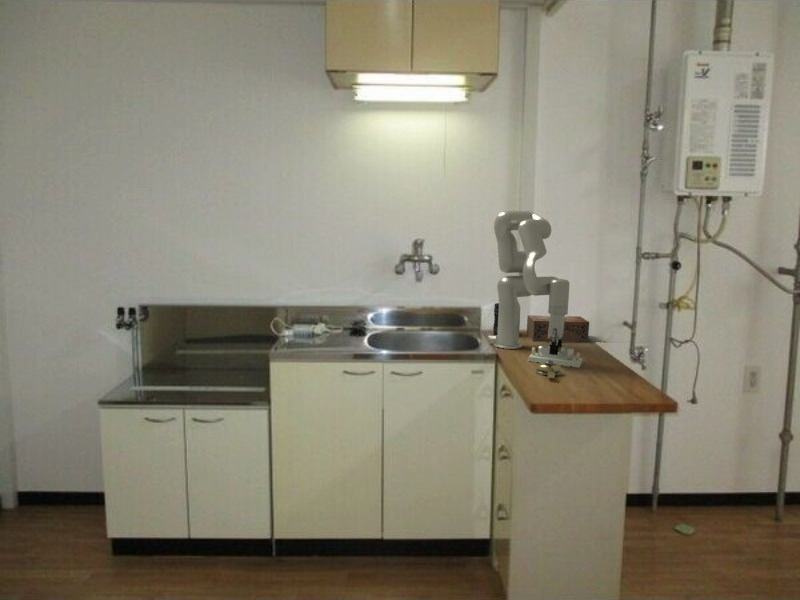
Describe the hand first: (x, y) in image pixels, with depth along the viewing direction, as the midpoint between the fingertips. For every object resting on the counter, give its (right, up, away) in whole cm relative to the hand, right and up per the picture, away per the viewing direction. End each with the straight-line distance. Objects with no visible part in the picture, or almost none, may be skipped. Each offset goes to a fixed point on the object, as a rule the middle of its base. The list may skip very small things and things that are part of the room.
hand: (555, 351), depth 247 cm
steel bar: (0, -2, 0) cm, 2 cm away
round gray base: (-7, -7, -16) cm, 19 cm away
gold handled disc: (-7, -6, -20) cm, 22 cm away
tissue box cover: (+12, +2, +47) cm, 48 cm away
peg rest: (0, -4, +1) cm, 4 cm away
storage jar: (-12, +4, +53) cm, 54 cm away
